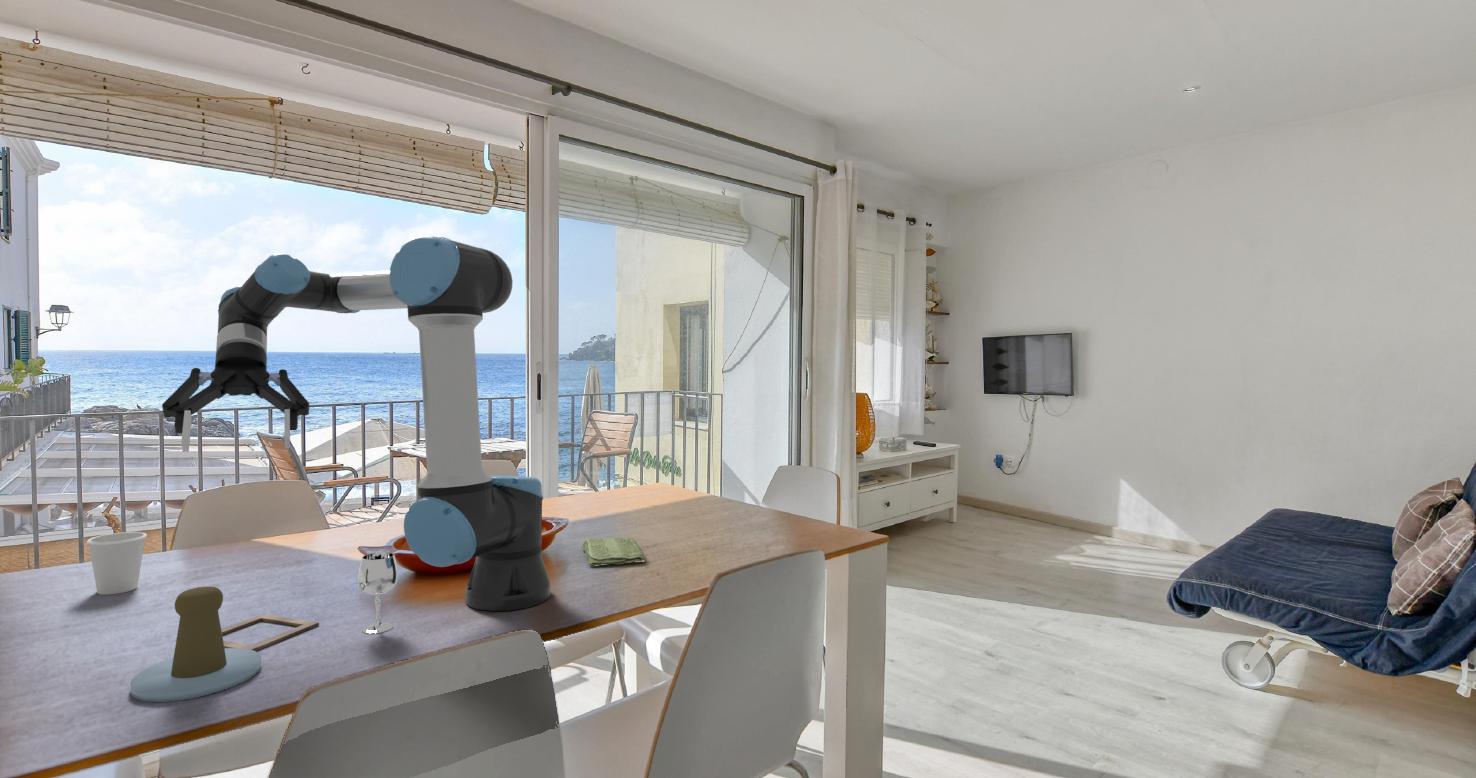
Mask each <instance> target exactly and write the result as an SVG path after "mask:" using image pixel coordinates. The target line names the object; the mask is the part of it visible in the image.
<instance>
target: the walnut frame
mask: <svg viewBox="0 0 1476 778" xmlns="http://www.w3.org/2000/svg"><path fill="white" fill-rule="evenodd" d="M259 622H260V623H261V622H265V623H272V624H280V625H284V624H286V625H285V626H291V625H293V626H292V627H294V628H292V629H288V630H287V631H283V632H282V633H279V634H276V635H274V636H271V637H268V638H265V639H263V640H261V641H259V642H256V643H253V644H246V643H239V642H234V641H233V642H232V641H227V640H223V643H224V649H225V648H242V649H249V650H253V651H256V652H258V651H260V650H262V649H264V648H268V647H270V646H272V645H274V644H277V643H279V642H282V641H284V640H286V639H290V638H291V636H292V637H294V636H296V634H297V635H299V634H302V633H304V632H306V631H309V630H312V629H314V628H316V627H318V625H319V626H320V622H319V621H312V620H305V619H299V618H292V617H286V616H285V617H284V616H278V615H271V614H266V613H262V614H259V615H257V616H254V617H251V618H248V619H245V620H243V621H242V620H241V621H240V622H236V623H234V624H230V625H228V626H226V627H223V628H222V627H221V631H222V636H223V635H224V636H225V635H227V634H230V633H233V632H235V631H238V630H241V629H243V628H246V627H249V626H251V625H255V624H257V623H259ZM297 626H298V627H297ZM301 632H302V633H301Z"/></svg>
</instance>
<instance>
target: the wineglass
mask: <svg viewBox="0 0 1476 778" xmlns="http://www.w3.org/2000/svg"><path fill="white" fill-rule="evenodd" d="M397 565H398V564H397V560H396V555H395V554H394V553H392V552H382V551H381V552H373V553H368V554H364V555H363V556H362V557H361V561H360V564H359V569H358V574H357V582H358V587H359V589H360V591H362V592H363V593H364V594H367V595H371V596H375V598H374V605H375V609H376V613H375V614H376V615H375V616H376V617H375V622H374V623H373V624H370V625H367V626H365V627H363V628H362V633H364V634H368V635H369V634H371V635H372V634H374V635H375V634H381V633H385V632H389V631H391V630H392V629H393V627H394V625H393V624H391V623H389V622H381V619H380V608H381V604H382V598H381V595H384V594H386V593H388V592H390V591H391V590H393V589H394V588H395V586H396V585H397V582H398V576H399V575H398V574H399V570H398V566H397Z"/></svg>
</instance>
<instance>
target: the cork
mask: <svg viewBox="0 0 1476 778" xmlns="http://www.w3.org/2000/svg"><path fill="white" fill-rule="evenodd" d="M223 602H224V595H223V592H222V590H220V588H219V587H215V586H199V587H198V586H197V587H193V588H189V589H185V590H184V591H182V592H180V593H179V594H178V595H177V597H176V599H175V601H174V610H175V613H176V614H177V615H178V616H179V621H178V626H177V627H178V628H177V634H176V640H175V647H174V652H173V657H172V658H173V664H172V671H171V676H172V677H175V678H193V677H199V676H203V675H207V674H211V673H213V672H216V671H218V670H220V669H222V668H224V667H225V666H226V664H227V661H226V655H225V649H224V643H223V641H224V637H223V635H222V631H221V629H222V626H221V621H220V615H219V614H220V613H219V610H220V608H221V607H222V604H223Z"/></svg>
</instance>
